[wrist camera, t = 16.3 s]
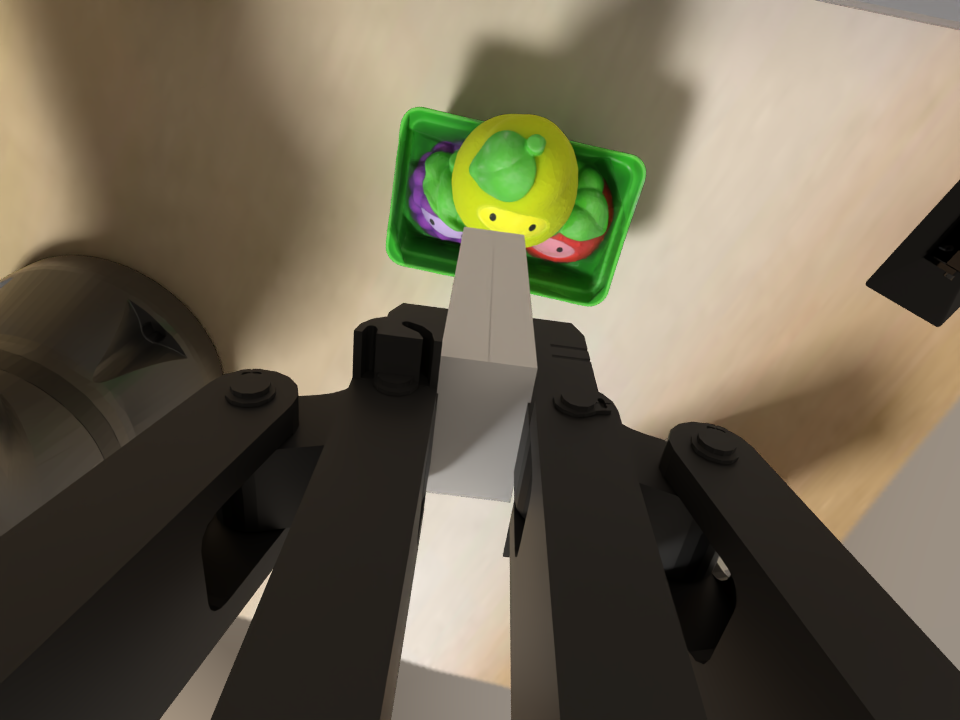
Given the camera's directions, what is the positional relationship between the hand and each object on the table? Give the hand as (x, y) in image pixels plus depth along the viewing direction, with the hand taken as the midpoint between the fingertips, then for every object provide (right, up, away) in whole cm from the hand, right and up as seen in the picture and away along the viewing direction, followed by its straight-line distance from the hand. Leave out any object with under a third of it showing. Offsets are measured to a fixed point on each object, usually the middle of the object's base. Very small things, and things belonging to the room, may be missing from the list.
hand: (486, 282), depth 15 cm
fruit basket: (+2, +8, +18) cm, 20 cm away
